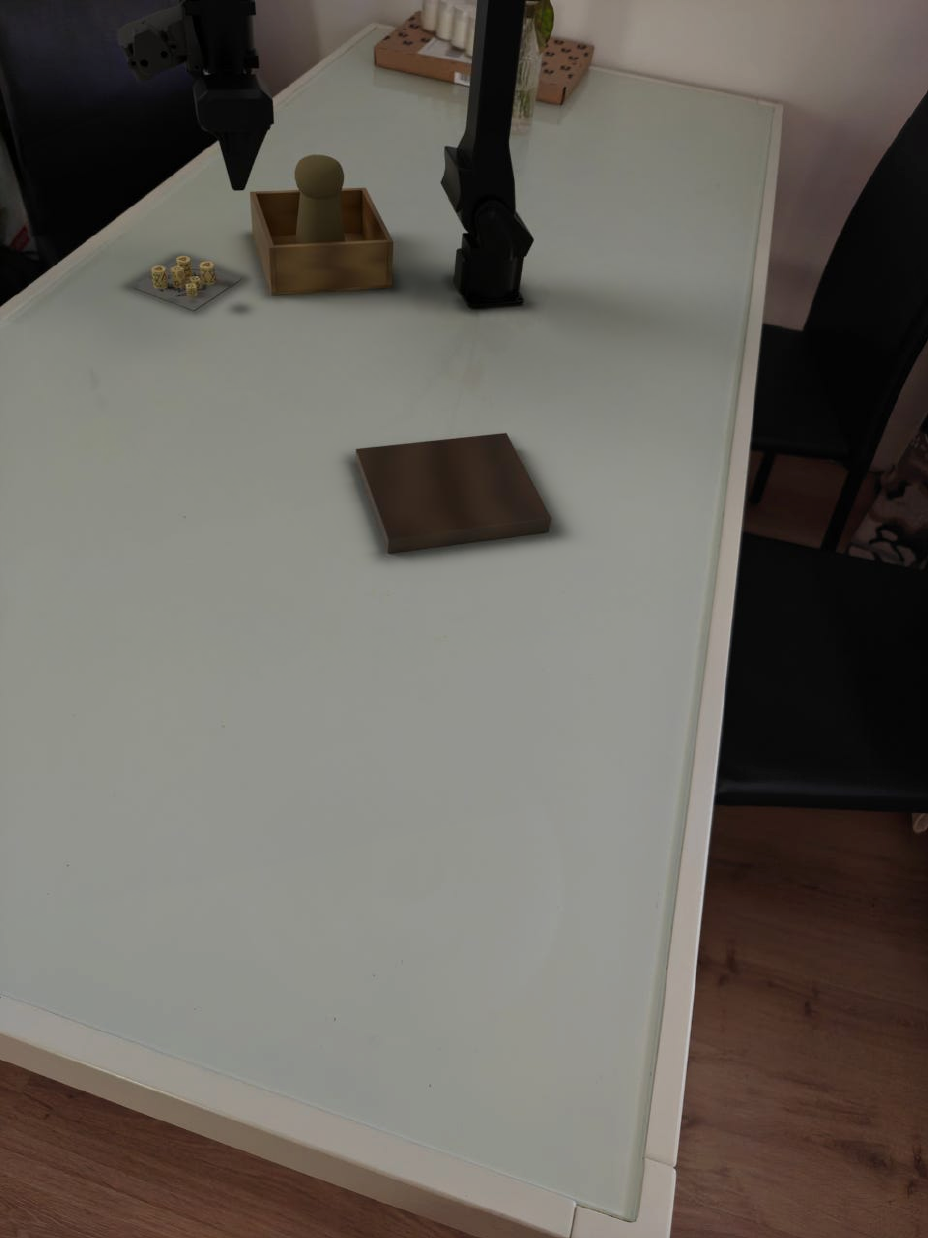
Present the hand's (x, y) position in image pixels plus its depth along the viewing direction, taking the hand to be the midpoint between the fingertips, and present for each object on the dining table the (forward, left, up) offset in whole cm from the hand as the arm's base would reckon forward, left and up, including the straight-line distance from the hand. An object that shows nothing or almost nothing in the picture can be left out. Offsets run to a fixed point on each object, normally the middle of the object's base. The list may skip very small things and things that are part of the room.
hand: (232, 168), depth 94 cm
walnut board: (-13, +34, -14) cm, 39 cm away
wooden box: (-10, -8, -14) cm, 19 cm away
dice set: (+5, -5, -14) cm, 16 cm away
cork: (-10, -8, -14) cm, 19 cm away
